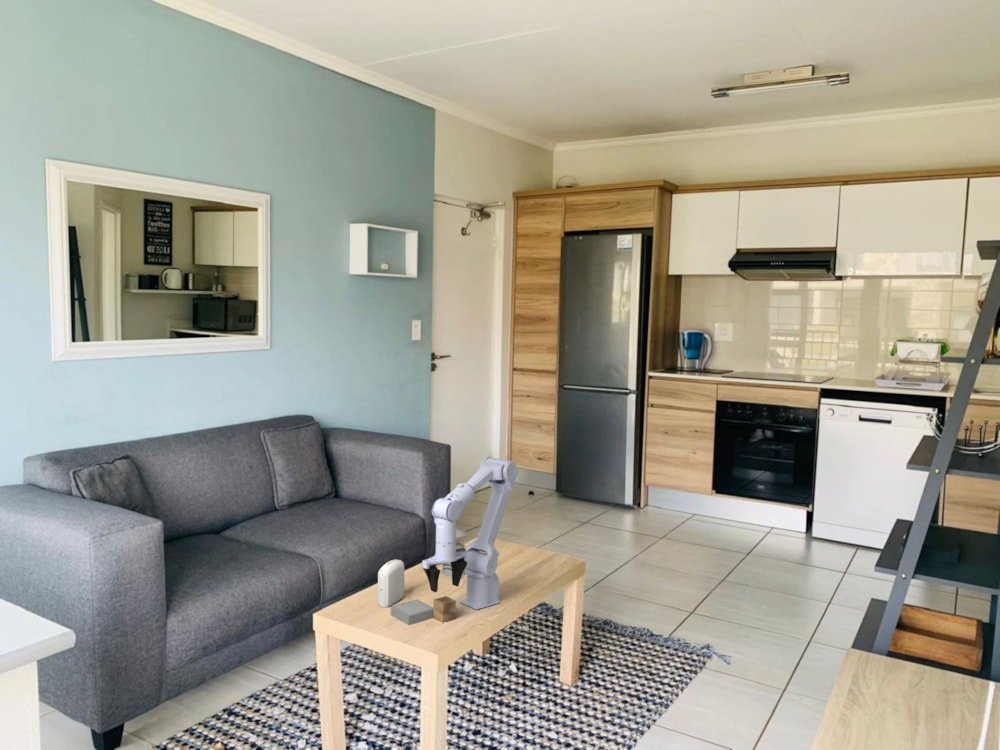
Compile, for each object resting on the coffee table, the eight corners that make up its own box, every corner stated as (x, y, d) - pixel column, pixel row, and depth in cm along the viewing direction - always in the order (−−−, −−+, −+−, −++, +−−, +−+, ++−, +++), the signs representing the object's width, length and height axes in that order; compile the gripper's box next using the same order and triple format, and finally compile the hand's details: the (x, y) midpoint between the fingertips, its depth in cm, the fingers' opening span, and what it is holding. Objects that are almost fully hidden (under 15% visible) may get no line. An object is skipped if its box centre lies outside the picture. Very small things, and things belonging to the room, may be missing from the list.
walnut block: (445, 614, 214) (446, 596, 214) (455, 619, 211) (455, 600, 210) (433, 618, 211) (433, 599, 211) (442, 623, 208) (443, 604, 207)
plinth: (416, 607, 219) (417, 599, 219) (434, 617, 212) (435, 608, 212) (390, 614, 213) (391, 606, 213) (408, 625, 206) (408, 616, 206)
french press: (455, 567, 255) (456, 495, 253) (478, 575, 247) (480, 501, 245) (433, 573, 248) (434, 500, 246) (456, 582, 240) (458, 506, 238)
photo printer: (387, 608, 217) (388, 567, 216) (375, 606, 219) (375, 565, 218) (406, 597, 227) (406, 557, 226) (394, 594, 228) (394, 555, 227)
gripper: (457, 533, 217) (456, 579, 218) (416, 542, 208) (415, 589, 209) (472, 539, 212) (471, 585, 213) (431, 548, 202) (430, 597, 203)
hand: (444, 588), depth 210 cm, fingers open, 7 cm apart
